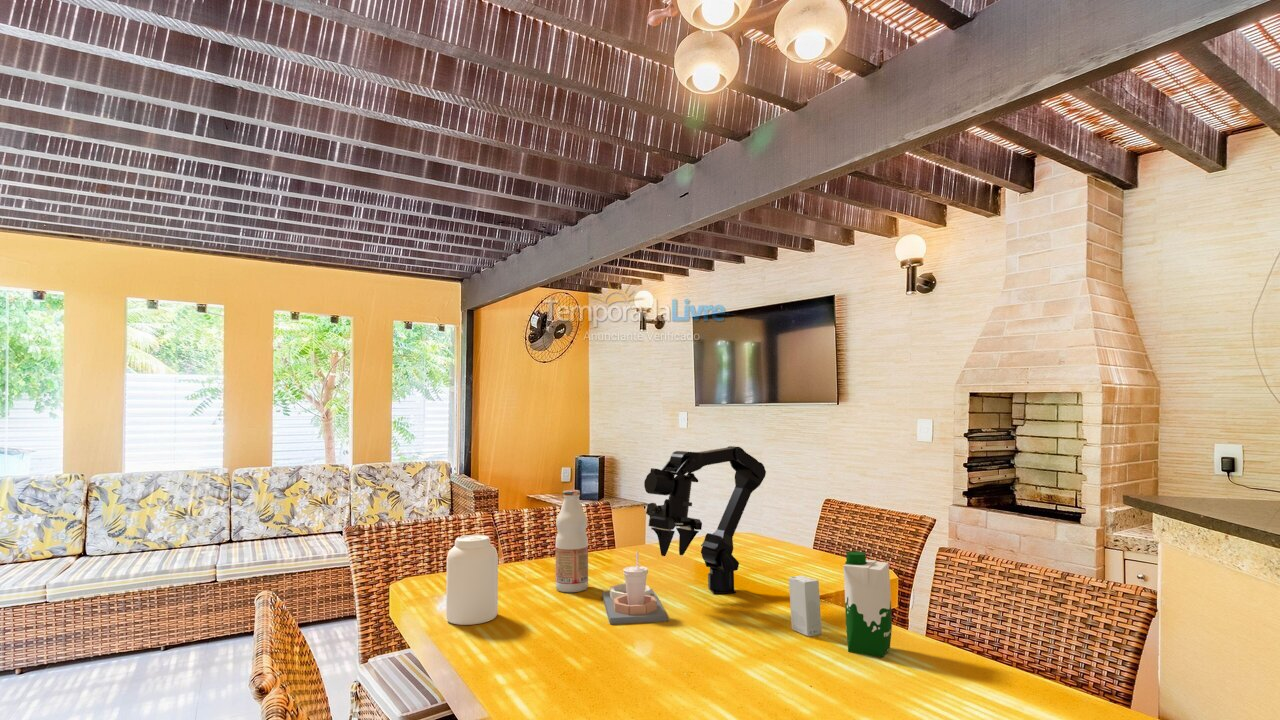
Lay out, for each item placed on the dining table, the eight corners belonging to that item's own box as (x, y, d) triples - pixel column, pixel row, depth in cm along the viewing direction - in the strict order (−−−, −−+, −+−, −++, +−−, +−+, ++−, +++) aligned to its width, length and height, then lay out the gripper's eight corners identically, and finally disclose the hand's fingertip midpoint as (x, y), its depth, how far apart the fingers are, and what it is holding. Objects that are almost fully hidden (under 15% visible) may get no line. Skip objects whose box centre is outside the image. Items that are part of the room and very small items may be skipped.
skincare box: (822, 634, 151) (821, 580, 152) (807, 637, 149) (805, 582, 150) (804, 626, 157) (803, 574, 157) (789, 629, 155) (788, 576, 155)
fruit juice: (557, 594, 187) (556, 493, 189) (554, 585, 196) (554, 489, 198) (590, 591, 189) (589, 492, 191) (585, 583, 198) (585, 488, 200)
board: (652, 594, 185) (652, 581, 186) (667, 621, 162) (667, 606, 162) (602, 596, 183) (602, 583, 184) (609, 624, 160) (609, 609, 160)
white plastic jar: (507, 617, 166) (508, 536, 168) (463, 629, 157) (464, 543, 159) (479, 607, 175) (479, 530, 176) (436, 618, 166) (437, 537, 167)
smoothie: (641, 613, 163) (640, 555, 164) (618, 609, 166) (618, 552, 167) (653, 606, 169) (652, 550, 170) (631, 603, 172) (630, 548, 173)
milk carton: (853, 640, 147) (850, 548, 149) (896, 647, 142) (892, 552, 144) (842, 652, 140) (839, 555, 141) (887, 660, 135) (883, 560, 137)
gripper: (672, 494, 194) (665, 549, 192) (636, 491, 179) (628, 550, 177) (705, 500, 188) (699, 556, 185) (670, 497, 173) (663, 558, 170)
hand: (672, 555), depth 180 cm, fingers open, 9 cm apart
